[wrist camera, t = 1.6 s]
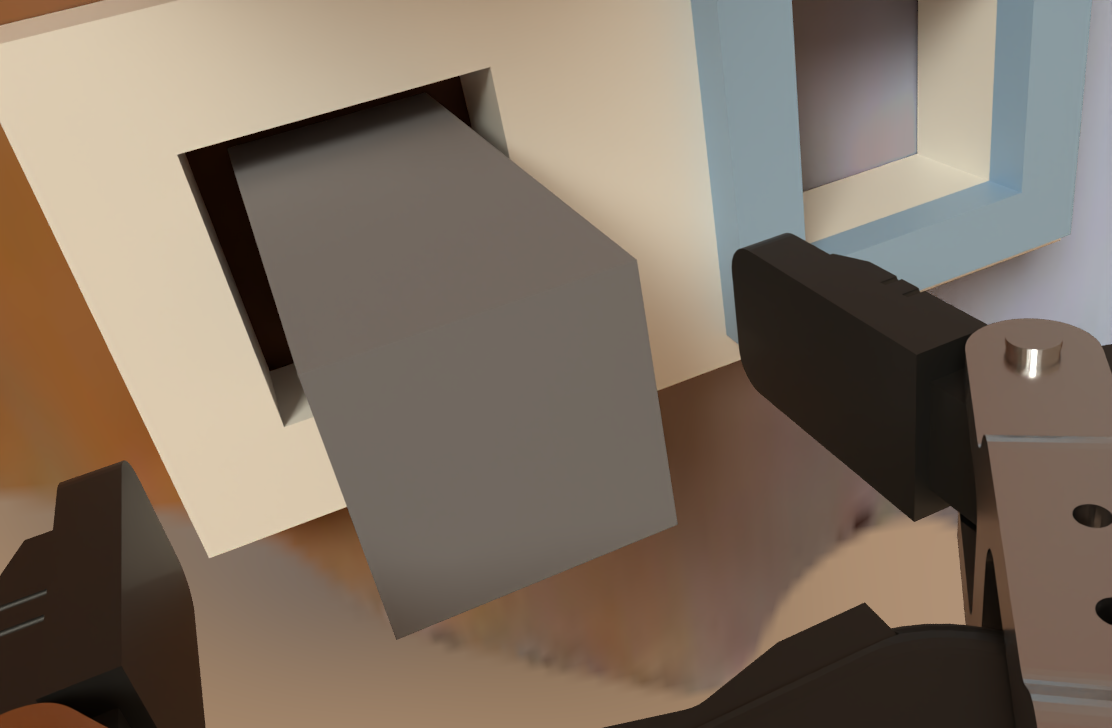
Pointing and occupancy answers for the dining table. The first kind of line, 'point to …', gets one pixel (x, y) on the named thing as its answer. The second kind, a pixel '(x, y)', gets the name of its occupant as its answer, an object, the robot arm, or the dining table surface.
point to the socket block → (530, 142)
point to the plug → (458, 355)
